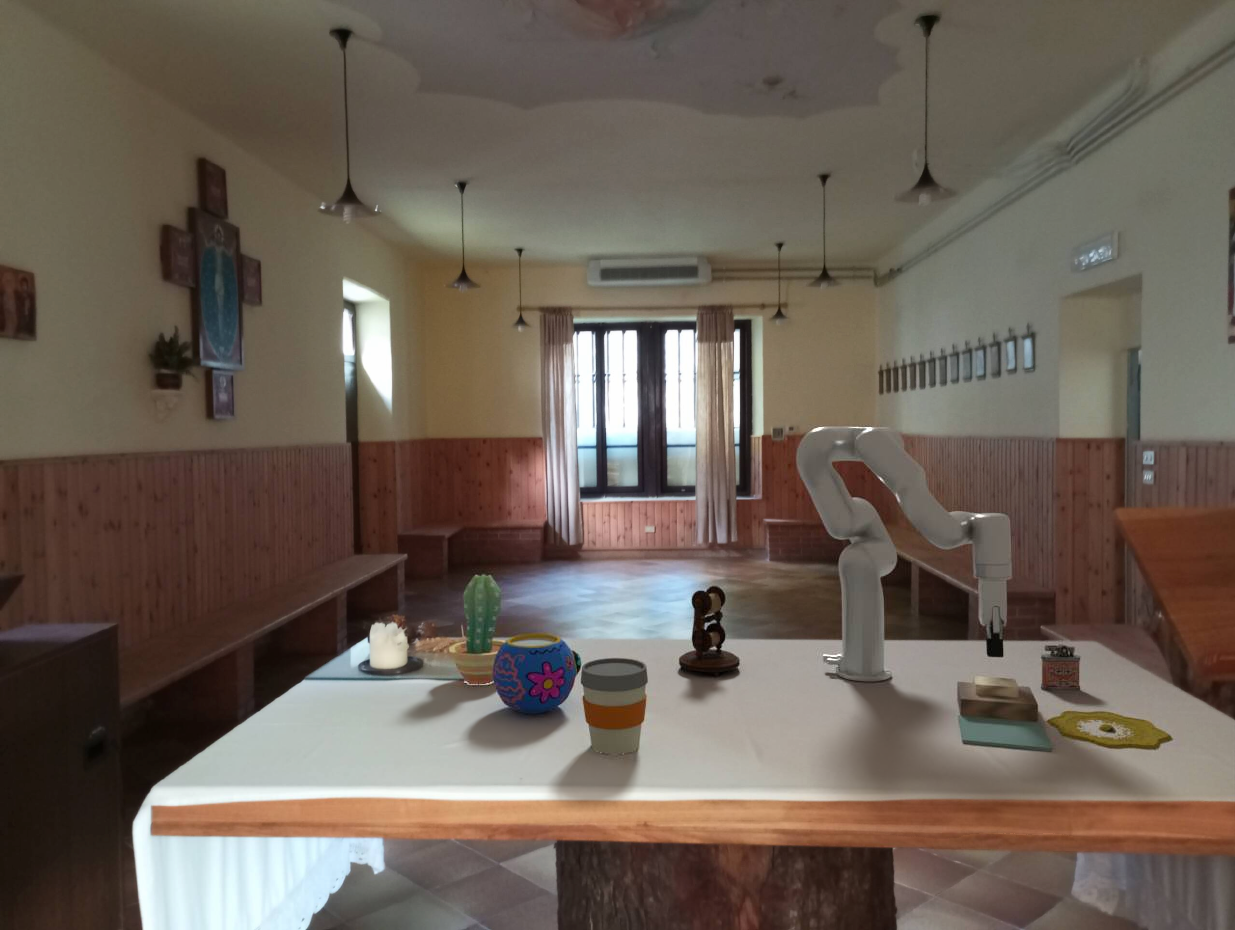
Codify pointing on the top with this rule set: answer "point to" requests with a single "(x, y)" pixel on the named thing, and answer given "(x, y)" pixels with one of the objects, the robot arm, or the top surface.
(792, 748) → the top surface
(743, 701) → the top surface
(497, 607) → the potted cactus
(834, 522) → the robot arm
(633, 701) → the reusable coffee cup
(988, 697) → the brown flat block
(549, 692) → the ceramic pot
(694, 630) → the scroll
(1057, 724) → the decorative medallion
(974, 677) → the tile
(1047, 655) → the lighter
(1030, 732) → the mat
